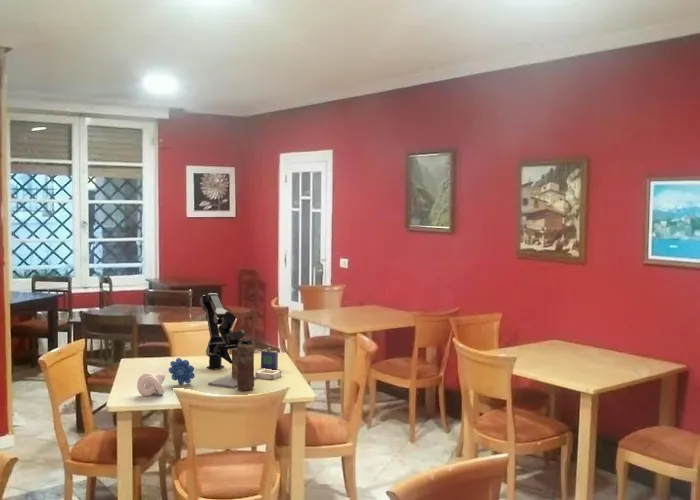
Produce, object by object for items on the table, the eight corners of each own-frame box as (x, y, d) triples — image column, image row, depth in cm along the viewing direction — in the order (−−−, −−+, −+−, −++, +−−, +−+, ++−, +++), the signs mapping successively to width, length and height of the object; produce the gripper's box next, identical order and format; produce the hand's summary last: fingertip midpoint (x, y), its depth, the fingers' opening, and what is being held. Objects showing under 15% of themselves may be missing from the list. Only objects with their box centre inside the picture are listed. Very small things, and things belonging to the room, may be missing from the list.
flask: (278, 369, 348) (278, 347, 347) (275, 370, 345) (275, 348, 345) (262, 367, 351) (262, 346, 351) (259, 368, 349) (259, 347, 348)
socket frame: (264, 373, 337) (264, 368, 337) (281, 375, 334) (281, 370, 333) (255, 377, 329) (255, 372, 329) (272, 379, 326) (272, 374, 326)
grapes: (166, 386, 311) (166, 360, 310) (169, 382, 317) (169, 356, 317) (193, 386, 312) (193, 360, 311) (195, 382, 318) (195, 356, 318)
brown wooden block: (238, 375, 329) (238, 348, 328) (245, 377, 325) (245, 350, 324) (231, 377, 326) (231, 349, 325) (238, 379, 322) (238, 351, 322)
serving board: (232, 375, 333) (232, 373, 333) (257, 378, 328) (257, 376, 328) (208, 384, 315) (208, 382, 315) (234, 388, 310) (234, 386, 310)
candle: (237, 386, 312) (238, 342, 311) (254, 386, 313) (254, 342, 312) (236, 391, 305) (236, 346, 303) (253, 391, 305) (253, 346, 304)
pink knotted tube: (149, 389, 306) (149, 369, 305) (173, 392, 302) (173, 371, 302) (133, 396, 295) (133, 375, 294) (158, 398, 291) (158, 377, 291)
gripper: (216, 326, 321) (229, 354, 313) (250, 322, 333) (263, 349, 326) (207, 341, 327) (220, 368, 320) (241, 336, 340) (254, 362, 332)
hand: (240, 361), depth 324 cm, fingers open, 9 cm apart
